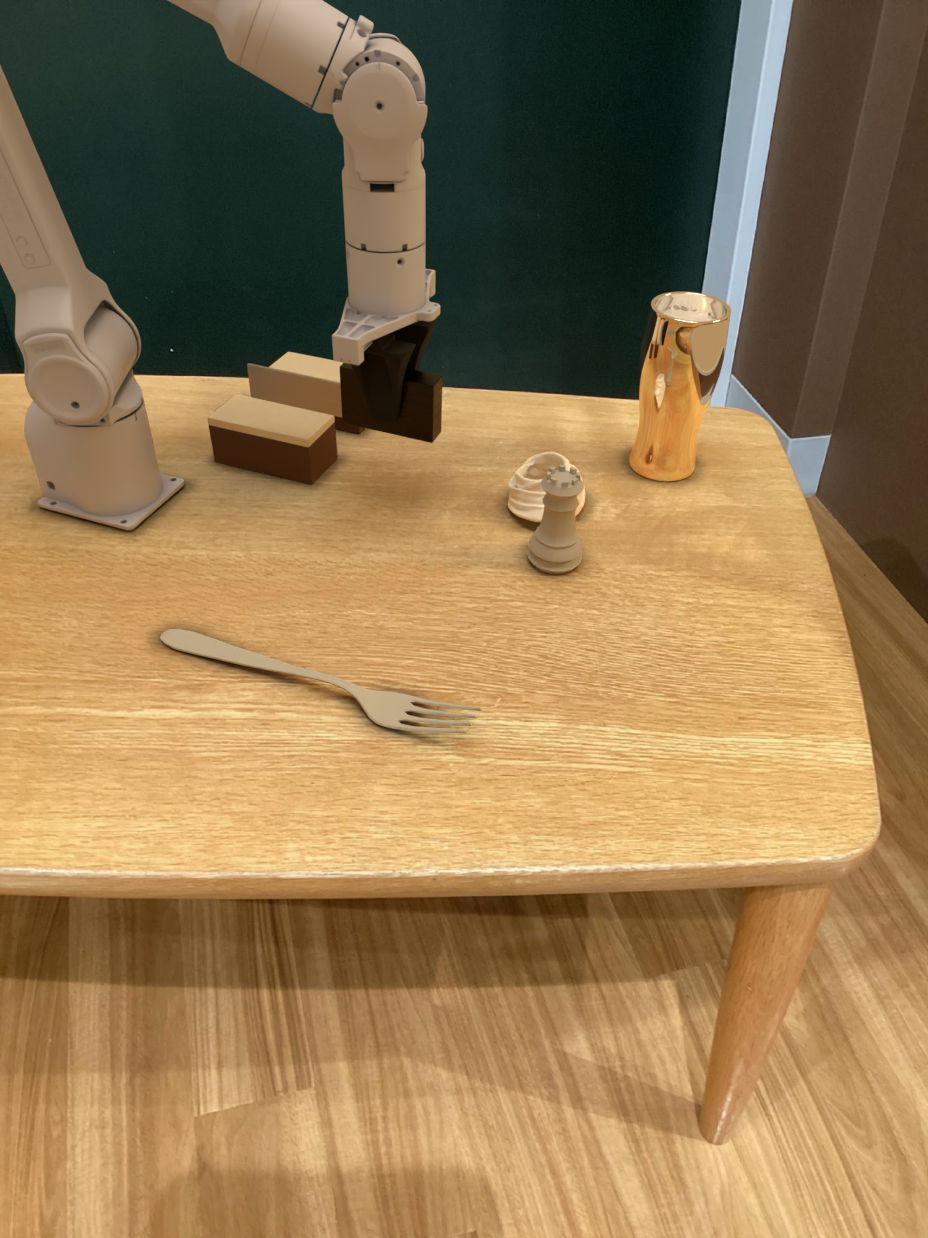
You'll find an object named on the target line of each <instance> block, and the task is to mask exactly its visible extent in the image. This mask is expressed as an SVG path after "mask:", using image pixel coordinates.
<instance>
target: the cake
mask: <svg viewBox="0 0 928 1238" xmlns="http://www.w3.org/2000/svg"><path fill="white" fill-rule="evenodd" d="M206 419H207V424H208V431H209V437H210V443H211V448H212V449H211V450H212V454H213V461H214V462H216V463H220V464H224V465H227V466H232V467H236V468H240V469H244V470H249V471H253V472H257V473H260V474H261V473H262V474H266V475H269V476H274V477H277V478H278V477H279V478H283V479H286V480H291V481H296V482H299V483H304V484H309V485H313V484H314V483H315V482H316V481H318V479H319V478H320V477H321V476H322V475H323V474H324V473H325V472H326V471H327V469H329V468H330V466H332V464H334V462H336V460H337V459H338V447H337V446H338V443H337V432H336V430H337V429H335V418H334V416H333V415H329V414H324V413H320V412H315V411H311V410H306V409H302V408H297V407H293V406H288V405H284V404H279V403H275V402H270V401H266V400H261V399H257V398H252V397H251V395H247V394H241V393H236V394H235V395H233V396H232V397H231V398H229V399H228V400H226V402H224V403H223V404H222V405H221V406H220V407H218V408H217V409H216V410H214V411H213V412H212V413H211V414H210V415H208V416H207V418H206Z"/></svg>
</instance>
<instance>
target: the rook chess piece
mask: <svg viewBox="0 0 928 1238" xmlns="http://www.w3.org/2000/svg"><path fill="white" fill-rule="evenodd" d="M565 467H566V465H559V470H556V468H555V467H554V466H552V467H551V468H549V472H548V471H547V475H546V476H545V477H544V478H543V479H542V481H541V487H542V488H543V489H544V491H545V492H546V495H545V496H544V497H543V499H542V501H543V504H544V512H543V516H542V520H541V522H539V523H540V524H539V525H538V526H537V527H536V529H535V531H534V532H533V533H532V535H531V537H530V539H529V541H528V549H527V550H526V554H527V558H528V560H529V562H531V564H532V565H533V566H534V567H535V568H536V569H538V570H539V571H541V572H544V573H547V574H552V575H555V574H556V575H561V574H566V573H569V572H571V571H573V570H574V569H576V568H577V567H578V566H579V565H580V564H581V562H582V561H583V551H584V547H583V542H582V538H581V537H580V535H579V532H578V530H577V528H576V527H577V526H576V517H575V511H576V508H577V507H578V505H579V500H578V499H577V495H579V494H580V493H581V492H582V490H583V489H584V485H585V482H584V481H583V482H584V483H583V482H582V480H581V479H580V476H581V477H582V475H581V472H580V471H579V472H577V469H578V468H577V467H576V468H577V469H576V468H574V467H571V468H570V471H566V470H565ZM555 470H556V471H555Z"/></svg>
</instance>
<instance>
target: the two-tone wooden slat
mask: <svg viewBox="0 0 928 1238" xmlns="http://www.w3.org/2000/svg"><path fill="white" fill-rule="evenodd" d="M246 367H247V376H248V383H249V393H250V396H251V397H252V398H257V399H261V400H266V401H270V402H275V403H279V404H284V405H288V406H293V407H297V408H302V409H306V410H311V411H315V412H320V413H324V414H329V415H333V416H338V417H342V423H345V424H349V425H354V426H358V427H363V428H365V429H368V430H372V431H376V432H381V433H385V434H388V435H389V434H390V435H393V436H399V437H404V438H407V439H413V440H417V441H421V442H424V443H425V442H426V443H430V444H433V443H434V442H435V441H436V439H437V438H438V437H439V435H440V434H441V433H442V419H443V418H442V417H443V415H442V414H443V378H444V377H443V375H441V374H436V373H432V372H427V371H421V370H418V371H417V370H412V369H408V368H406V371H405V375H404V380H403V386H402V397H401V406H400V412H399V416H398V419H397V420H396V422H395V423H389V422H384V421H379V420H375V419H372V418H371V416H370V413H369V410H368V407H367V404H366V401H365V397H364V394H363V391H362V388H361V386H360V383H359V380H358V378H357V376H356V374H355V372H354V370H353V368H352V366H351V365H350V364H347V363H343V364H342V365H341V366H340V367H339V368H340V382H335V381H330V380H326V379H321V378H316V377H312V376H307V375H302V374H298V373H293V372H288V371H284V370H279V369H274V368H269V367H270V366H264V365H259V364H255V363H250V362H248V363H247V364H246Z"/></svg>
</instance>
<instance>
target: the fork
mask: <svg viewBox="0 0 928 1238" xmlns="http://www.w3.org/2000/svg"><path fill="white" fill-rule="evenodd" d="M159 639H160V641H161V642H162V643H163V644H164V645H165V646H166V647H167V646H168V647H169V648H172V649H174V650H177V651H181V652H184V653H188V654H192V655H195V656H200V657H205V658H209V659H213V660H218V661H223V662H226V663H231V664H236V665H239V666H243V667H247V668H253V669H258V670H263V671H269V672H275V673H281V674H284V675H291V676H296V677H300V678H305V679H310V680H315V681H319V682H323V683H326V684H330V685H333V686H335V687H338V688H340V689H342V690H343V691H345V692H347V693H348V694H350V695H351V696H352V697H353V698H355V700H356V701H357V702H358V704H359V705H360V706H361V708H362V710H363V711H364V713H365V714H366V716H367V717H368V718H369V719H370V720H371V721H372V722H374V723H375V724H377V725H379V726H381V727H385V728H389V729H391V730H392V729H393V730H402V731H408V732H423V733H435V734H436V733H437V734H464V735H466V734H468V730H467V729H458V728H444V727H443V728H442V727H429V726H418V725H417V726H414V725H410V724H406V723H405V724H404V723H402V722H407V723H409V722H410V723H420V724H421V723H422V724H433V725H445V726H460V727H472V726H473V724H474V723H473V722H470V721H461V720H459V721H457V720H448V719H440V718H439V719H437V718H427V717H419V716H415V715H411V714H408V713H416V714H425V715H433V716H434V715H435V716H443V717H452V718H464V719H477V718H478V717H479V716H478V714H473V713H465V712H455V711H448V710H447V711H446V710H440V709H439V710H437V709H431V708H424V707H420V706H417V705H414V704H420V705H427V706H434V707H442V708H448V709H455V710H462V711H463V710H464V711H478V712H482V710H483V709H484V708H483V707H481V706H474V705H465V704H457V703H450V702H443V701H438V700H432V699H427V698H422V697H418V696H414V695H411V694H407V693H402V692H396V691H388V690H375V689H369V688H366V687H363V686H360V685H357V684H355V683H353V682H351V681H348V680H346V679H343V678H342V677H341V678H340V677H338V676H335V675H332V674H328V673H325V672H320V671H317V670H313V669H310V668H305V667H302V666H298V665H296V664H292V663H288V662H285V661H282V660H278V659H275V658H272V657H270V656H268V655H264V654H261V653H258V652H255V651H252V650H248V649H246V648H243V647H239V646H236V645H233V644H230V643H228V642H225V641H222V640H219V639H216V638H214V637H211V636H208V635H205V634H201V633H199V632H196V631H193V630H189V629H188V630H187V629H183V628H182V629H181V628H169V629H167V630H165V631H163V632H162V633H161V634H159Z"/></svg>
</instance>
